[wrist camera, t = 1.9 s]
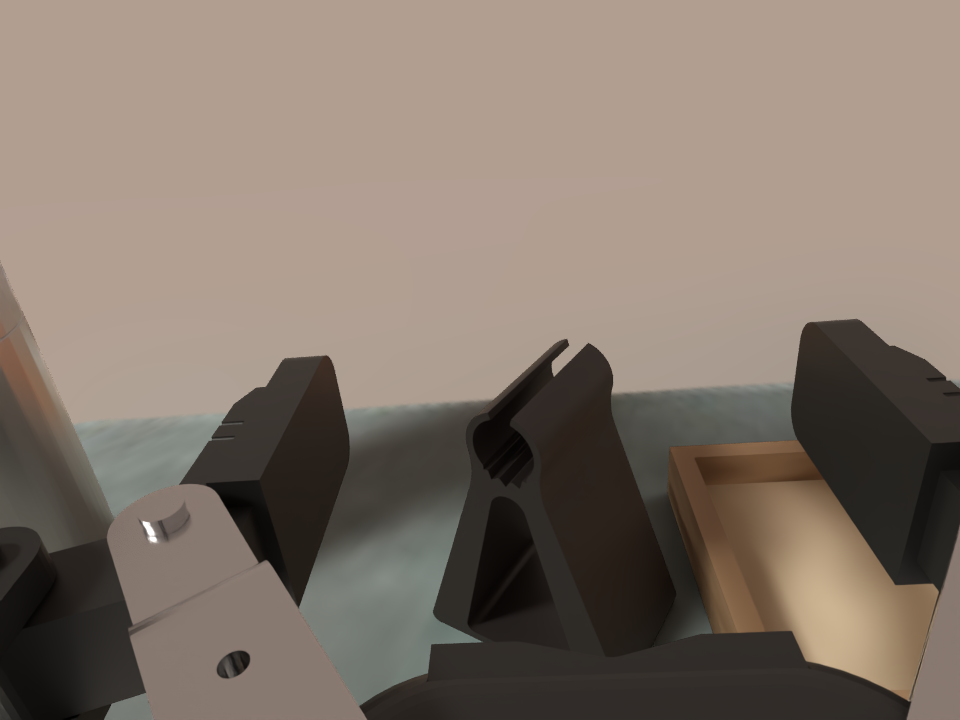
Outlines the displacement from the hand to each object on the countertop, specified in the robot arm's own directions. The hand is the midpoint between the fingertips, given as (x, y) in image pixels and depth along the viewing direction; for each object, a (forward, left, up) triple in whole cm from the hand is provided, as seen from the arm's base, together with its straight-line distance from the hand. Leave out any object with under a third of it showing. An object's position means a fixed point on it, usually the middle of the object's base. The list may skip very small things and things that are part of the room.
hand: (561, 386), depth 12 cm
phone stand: (0, +11, -18) cm, 21 cm away
